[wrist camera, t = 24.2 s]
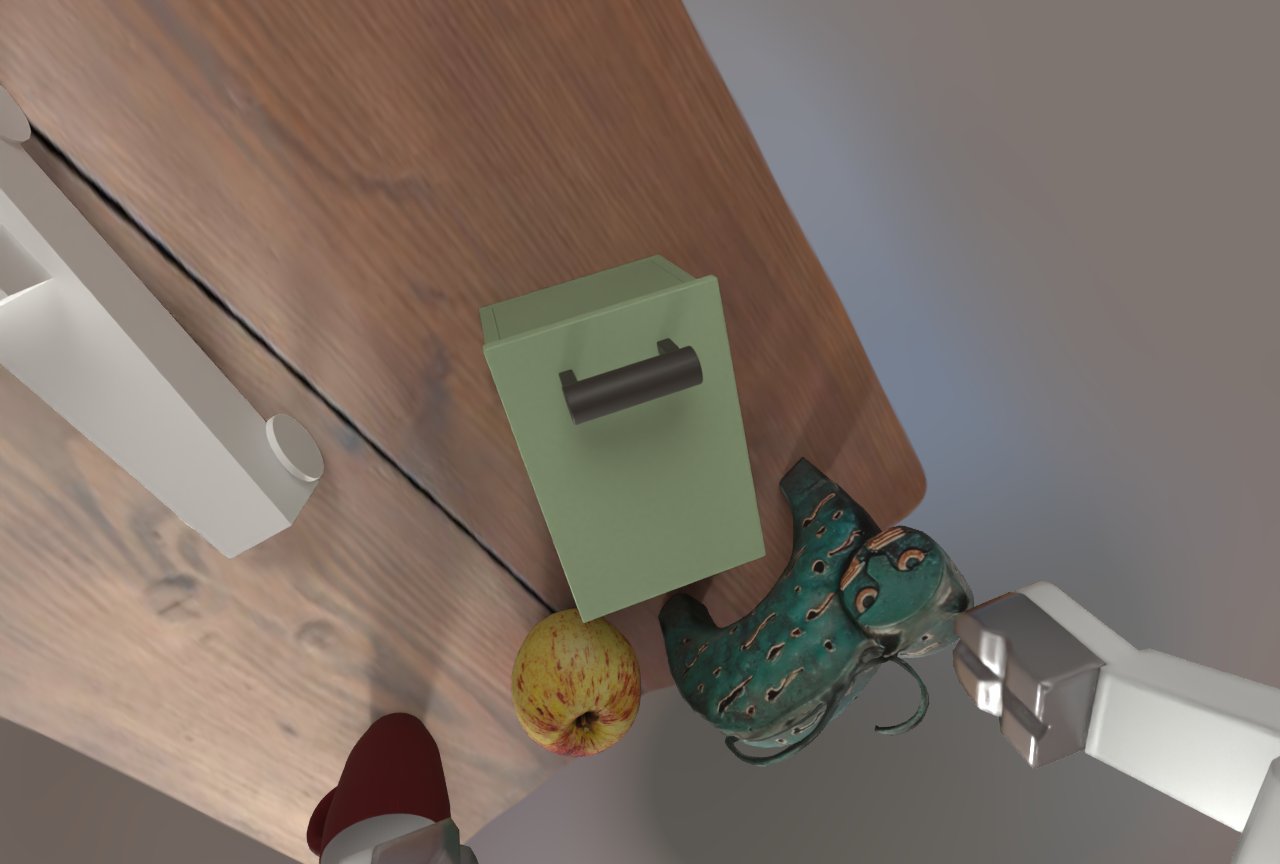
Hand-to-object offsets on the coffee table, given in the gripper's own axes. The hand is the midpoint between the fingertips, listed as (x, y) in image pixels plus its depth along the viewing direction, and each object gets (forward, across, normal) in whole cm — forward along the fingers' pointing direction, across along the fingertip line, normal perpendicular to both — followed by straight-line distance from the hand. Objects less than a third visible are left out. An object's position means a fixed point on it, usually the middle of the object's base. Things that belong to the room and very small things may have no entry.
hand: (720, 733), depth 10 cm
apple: (+34, +5, +28) cm, 44 cm away
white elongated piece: (+34, +20, -3) cm, 40 cm away
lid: (+24, -3, +10) cm, 26 cm away
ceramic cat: (+34, -11, +26) cm, 44 cm away
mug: (+34, +21, +32) cm, 51 cm away
